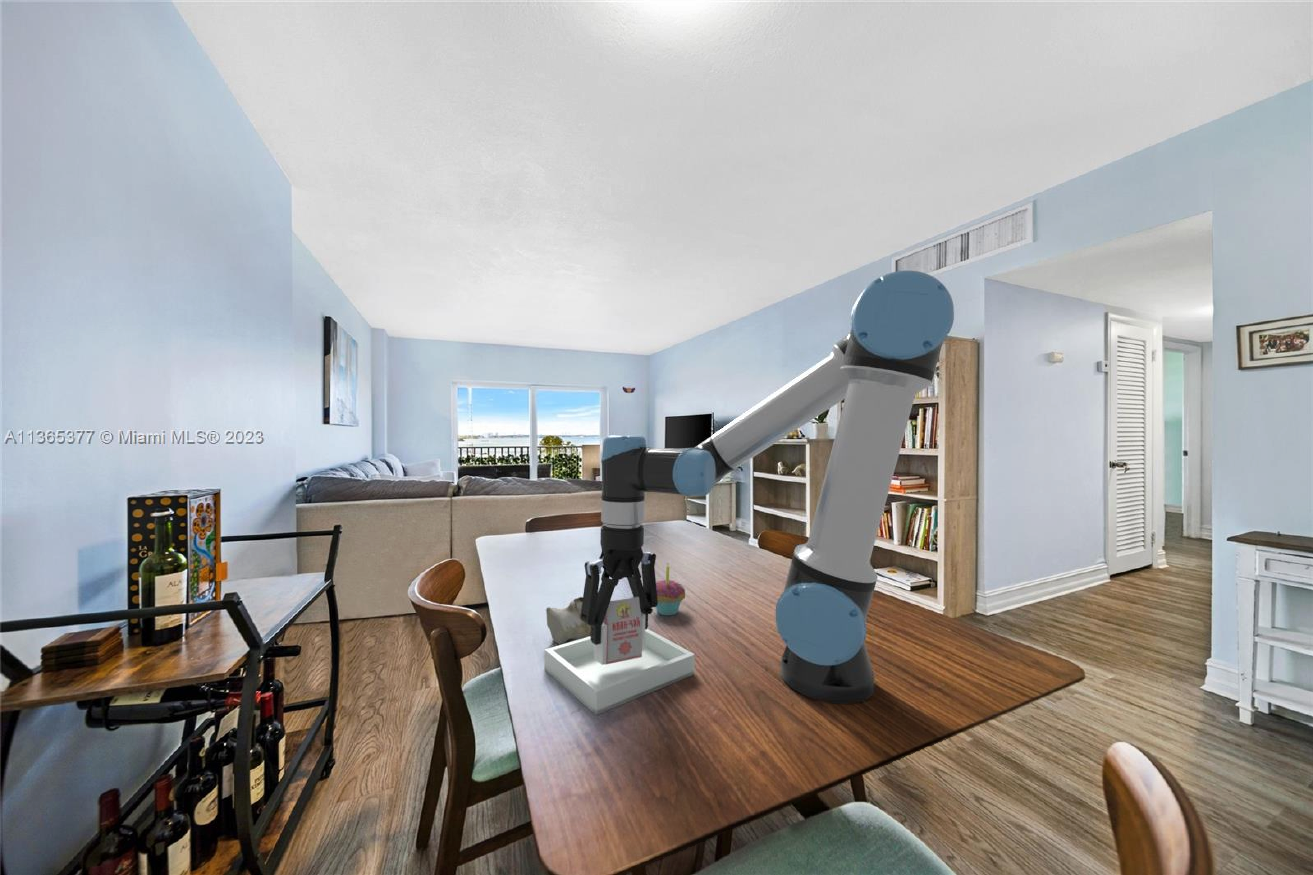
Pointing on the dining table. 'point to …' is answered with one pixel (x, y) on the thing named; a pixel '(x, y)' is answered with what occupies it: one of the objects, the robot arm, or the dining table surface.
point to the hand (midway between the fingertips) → (619, 654)
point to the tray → (617, 671)
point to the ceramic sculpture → (567, 622)
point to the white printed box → (623, 630)
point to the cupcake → (669, 595)
